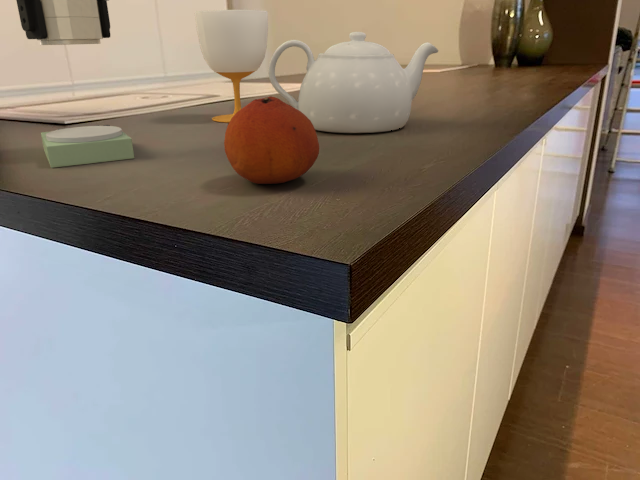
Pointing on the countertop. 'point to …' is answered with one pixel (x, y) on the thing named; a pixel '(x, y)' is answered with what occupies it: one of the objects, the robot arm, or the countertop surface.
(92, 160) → the scale
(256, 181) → the fruit
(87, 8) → the bowl
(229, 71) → the cup
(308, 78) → the teapot
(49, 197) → the countertop surface
